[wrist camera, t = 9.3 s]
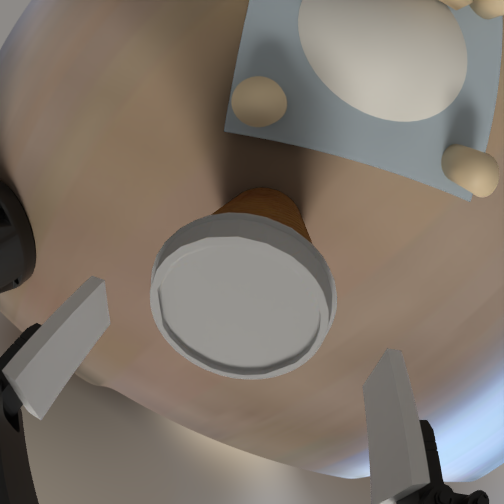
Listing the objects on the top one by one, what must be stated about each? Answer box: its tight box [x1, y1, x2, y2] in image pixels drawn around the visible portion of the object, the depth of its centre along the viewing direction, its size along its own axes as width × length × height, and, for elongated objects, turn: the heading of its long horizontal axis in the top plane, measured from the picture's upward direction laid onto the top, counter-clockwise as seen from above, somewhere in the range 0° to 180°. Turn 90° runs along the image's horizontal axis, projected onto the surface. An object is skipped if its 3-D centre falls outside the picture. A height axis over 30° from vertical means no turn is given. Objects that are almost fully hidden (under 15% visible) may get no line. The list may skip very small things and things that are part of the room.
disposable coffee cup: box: [150, 187, 337, 379], centre depth 19 cm, size 10×10×12 cm
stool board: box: [224, 0, 504, 202], centre depth 14 cm, size 20×20×6 cm
